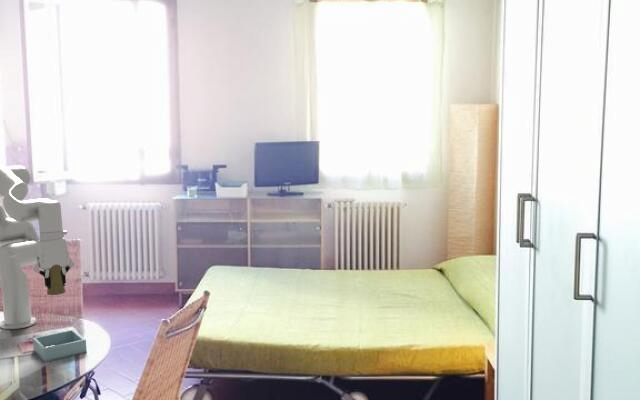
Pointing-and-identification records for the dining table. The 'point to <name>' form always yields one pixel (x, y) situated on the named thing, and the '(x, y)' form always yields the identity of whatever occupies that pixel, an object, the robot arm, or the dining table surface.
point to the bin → (59, 345)
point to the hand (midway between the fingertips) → (55, 286)
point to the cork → (56, 281)
